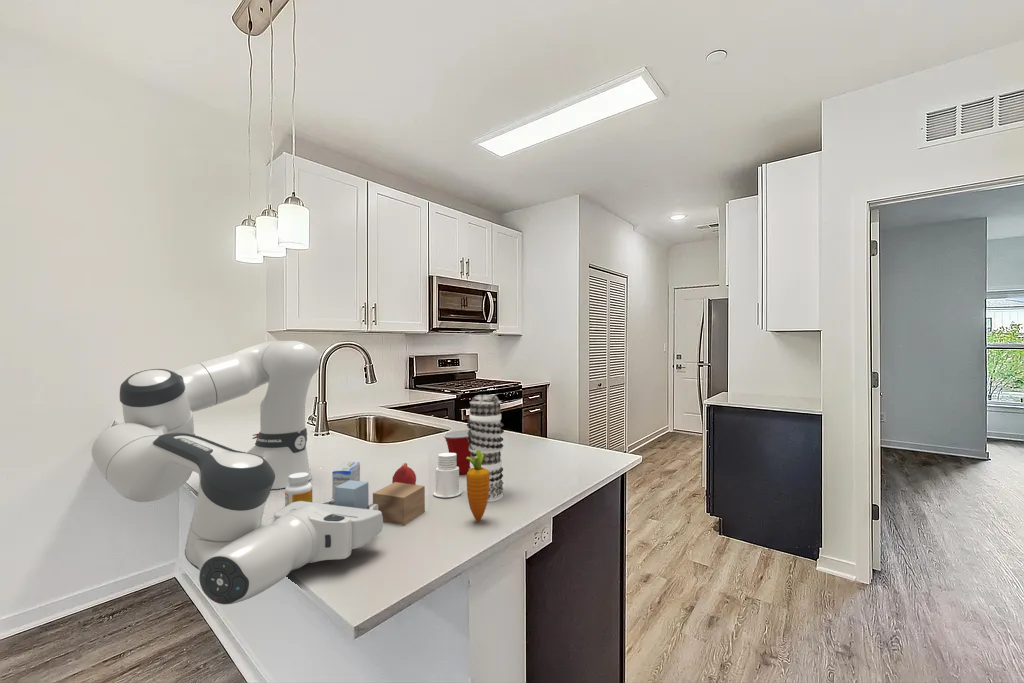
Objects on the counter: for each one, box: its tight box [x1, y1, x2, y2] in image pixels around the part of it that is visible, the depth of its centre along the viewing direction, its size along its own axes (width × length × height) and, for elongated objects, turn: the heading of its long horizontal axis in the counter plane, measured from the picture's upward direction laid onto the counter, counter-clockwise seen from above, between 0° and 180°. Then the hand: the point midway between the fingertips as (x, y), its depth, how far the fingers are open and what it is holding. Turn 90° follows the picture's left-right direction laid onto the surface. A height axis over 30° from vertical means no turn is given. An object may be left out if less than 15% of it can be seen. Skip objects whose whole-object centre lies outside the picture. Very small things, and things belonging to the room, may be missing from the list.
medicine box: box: [331, 461, 361, 500], centre depth 107 cm, size 8×4×9 cm, turn 5°
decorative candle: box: [466, 394, 505, 503], centre depth 110 cm, size 9×9×25 cm
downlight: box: [432, 452, 462, 499], centre depth 113 cm, size 8×7×10 cm
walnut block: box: [372, 482, 426, 526], centre depth 98 cm, size 8×8×6 cm
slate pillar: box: [335, 480, 370, 509], centre depth 89 cm, size 4×4×10 cm
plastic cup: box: [442, 428, 471, 476], centre depth 131 cm, size 11×11×12 cm
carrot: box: [465, 450, 489, 523], centre depth 95 cm, size 5×5×15 cm
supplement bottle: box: [284, 472, 313, 507], centre depth 97 cm, size 5×5×10 cm
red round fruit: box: [391, 462, 417, 485], centre depth 112 cm, size 6×6×8 cm
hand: (355, 505), depth 90 cm, fingers open, 8 cm apart
